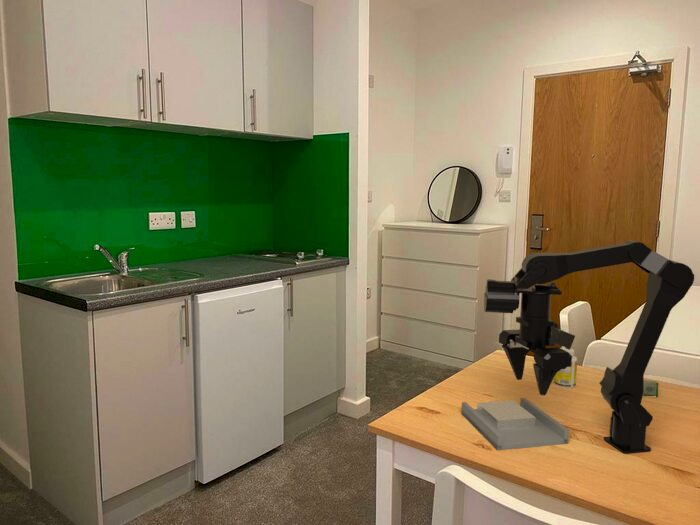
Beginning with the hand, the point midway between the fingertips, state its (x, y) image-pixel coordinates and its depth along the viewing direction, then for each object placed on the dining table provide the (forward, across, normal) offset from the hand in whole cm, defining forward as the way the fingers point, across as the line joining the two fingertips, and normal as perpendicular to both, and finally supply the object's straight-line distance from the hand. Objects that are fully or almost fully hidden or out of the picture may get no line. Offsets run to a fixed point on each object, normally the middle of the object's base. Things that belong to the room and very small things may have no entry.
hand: (530, 387), depth 113 cm
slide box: (+11, +5, +1) cm, 12 cm away
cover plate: (+10, +8, +1) cm, 13 cm away
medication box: (+12, +18, -40) cm, 46 cm away
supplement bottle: (+11, +27, -27) cm, 40 cm away
